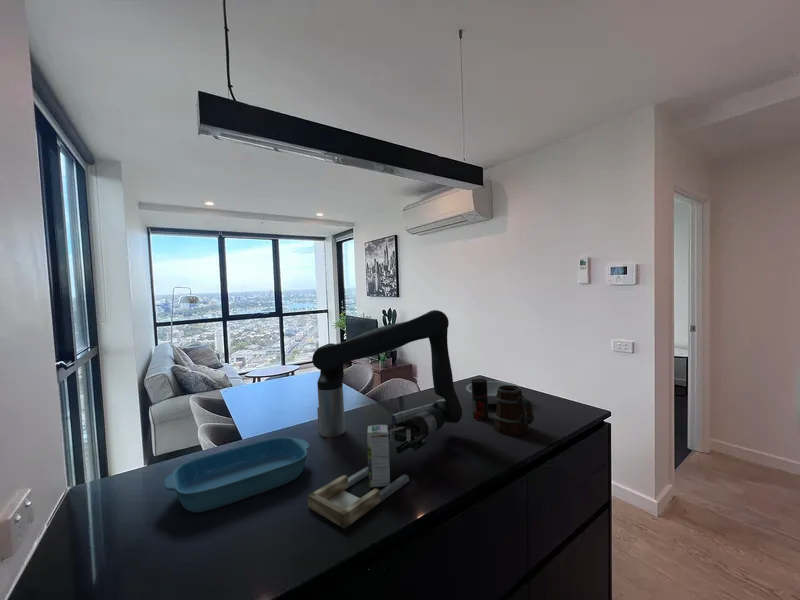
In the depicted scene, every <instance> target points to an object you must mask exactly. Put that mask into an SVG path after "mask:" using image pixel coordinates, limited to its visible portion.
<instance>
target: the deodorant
mask: <svg viewBox="0 0 800 600" xmlns="http://www.w3.org/2000/svg"><path fill="white" fill-rule="evenodd" d="M487 381H488V380H487V379H486V378H472V379H471V384H472V395H471V398H472V416H473V417H472V418H473V419H474V420H475V419H476V420H475V421H478V420H480V422H482V421H484V420H485V421H488V420H489V419H490V418H489V404H488V396H487ZM488 418H489V419H488ZM487 419H488V420H487Z"/></svg>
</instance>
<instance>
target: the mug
mask: <svg viewBox="0 0 800 600" xmlns="http://www.w3.org/2000/svg"><path fill="white" fill-rule="evenodd" d="M520 388H521V387H520V386H519V387H517V386H513V385H503V386H500V387H499V388H498V390H497V394H496V396H495V400H497V404H496V409H495V410H496V411H495V413H494V414H493V418H494V419H495V421H494V423H493V428H494V430H496V431H497V432H498V433H499V434H503V435H507V436H521V435H525V434H527V433H529V425H531V424H532V423H533V422H534V420H535V415H534V414H533V408H532V407H533V405H532V402H531V401H530V400H529V399H528V398H527V397H525V395H523V392H522V389H520Z"/></svg>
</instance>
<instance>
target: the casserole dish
mask: <svg viewBox="0 0 800 600" xmlns="http://www.w3.org/2000/svg"><path fill="white" fill-rule="evenodd" d="M310 445H311V444H310V443H309V442H307V441H306V440H304V439H302V438H294V437H292V436H278V437H272V438H268V439H264V440H261V441H256V442H252V443H248V444H244V445H241V446H237V447H234V448H229V449H226V450H223V451H218V452H215V453H211V454H207V455H204V456H201V457H196V458H194V459H191V460H188V461H185V462H184V463H181V464H180V465H179V466H177V467H176V468H175V469H174V470H173V472H172V473H171V474H169V475H168V476H167V477H166V478H165V479H164V481H163V486H164V489H166V490H168V491H175V493H176V495H177V497H178V499H179V502H180V503H181V505H182V507H183V508H184V509H185V510H186V511H189V512H192V513H203V512H208V511H211V510H215V509H217V508H220V507H224V506H227V505H231V504H233V503H235V502H238V501H241V500H245V499H248V498H250V497H252V496H257V495H258V494H259V493H260V494H263V493H265V492H267V491H268V492H269V491H271V490H273V489H276V488H279V487H281V486H283V485H287V484H289V483H291V482H293V481H295V480H296V479H297V478H298V477H299V476H300V475H301V473H303V470H304V468H305V464H306V461H307V456H308V449H309V448H310Z"/></svg>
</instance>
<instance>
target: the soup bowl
mask: <svg viewBox="0 0 800 600" xmlns="http://www.w3.org/2000/svg"><path fill="white" fill-rule="evenodd" d="M503 385H513V386H517V387H520V386H519V385H518V384H516V383H512V382H507V381H499V380H487V396H488V405H497V400H495V396H496V394H497V390H498V388H499V387H500V386H503ZM465 389H466V391H467V392H468V393H470V395H471V396H472V383H469V384H467V385H466V386H465ZM520 389H521V387H520ZM521 390H522V389H521Z"/></svg>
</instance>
